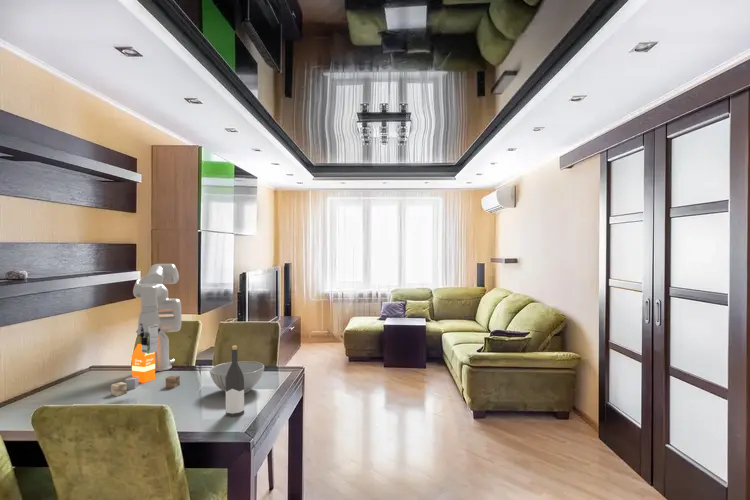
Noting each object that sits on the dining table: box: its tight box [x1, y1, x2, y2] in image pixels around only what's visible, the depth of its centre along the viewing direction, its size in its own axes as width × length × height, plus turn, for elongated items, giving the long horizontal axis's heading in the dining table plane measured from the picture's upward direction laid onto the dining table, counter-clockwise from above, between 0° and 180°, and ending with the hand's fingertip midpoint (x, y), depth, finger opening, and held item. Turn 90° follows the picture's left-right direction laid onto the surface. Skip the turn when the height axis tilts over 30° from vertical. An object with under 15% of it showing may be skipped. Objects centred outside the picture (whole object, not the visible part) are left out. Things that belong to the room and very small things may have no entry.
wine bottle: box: [225, 345, 245, 418], centre depth 198 cm, size 8×8×30 cm
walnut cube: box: [165, 375, 181, 389], centre depth 238 cm, size 5×5×5 cm
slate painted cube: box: [124, 376, 140, 390], centre depth 236 cm, size 5×5×5 cm
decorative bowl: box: [209, 360, 265, 395], centre depth 229 cm, size 27×27×12 cm
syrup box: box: [142, 325, 158, 354], centre depth 233 cm, size 6×6×14 cm
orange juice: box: [131, 343, 156, 384], centre depth 249 cm, size 8×9×20 cm
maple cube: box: [110, 381, 128, 397], centre depth 226 cm, size 5×5×5 cm
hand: (149, 343), depth 233 cm, fingers closed on syrup box, 6 cm apart
